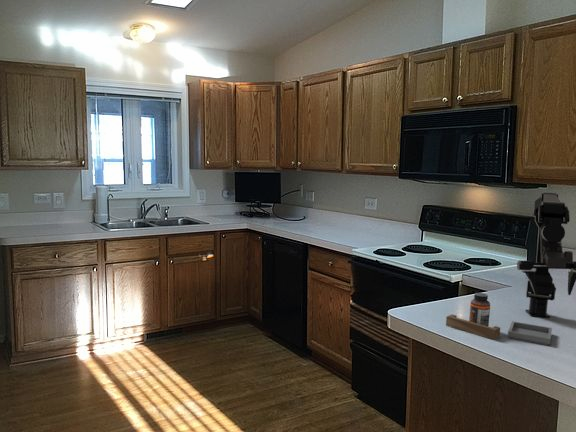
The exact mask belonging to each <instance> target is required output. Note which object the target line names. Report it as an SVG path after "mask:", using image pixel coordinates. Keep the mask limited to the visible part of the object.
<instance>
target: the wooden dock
mask: <svg viewBox="0 0 576 432" xmlns="http://www.w3.org/2000/svg"><path fill="white" fill-rule="evenodd" d="M445 317H446V318H445V319H446V320H445V326H446V327H449V328H453V329H456V330H457V329H458V330H460V331H464V332H467V333H470V334H474V335H477V336H481V337H484V338H487V339H490V340H497V339H499V338H500V335H501V334H500V333H501V327H500V326H496V325H495V326H493V327H492V326H485V325H481V324H478V323H474V322H470V321H469V320H467V319H463V318H459V317H457V314H452V313H451V314H449V315H447V316H445ZM498 337H499V338H498Z"/></svg>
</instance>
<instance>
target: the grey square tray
mask: <svg viewBox="0 0 576 432" xmlns="http://www.w3.org/2000/svg"><path fill="white" fill-rule="evenodd" d="M552 331H553V328H552V327H548V326H543V325H538V324H530V323H525V322H520V321H519V322H518V321H514V320H512V321H511V323H510V326H509V328H508V330H507V339H508V338H509V339H512V338H513V340H517V339H519V340H518V341H523V340H524V342H528V343H529V342H530V343H533V342H534V344H539V345H544V346H551V341H552Z"/></svg>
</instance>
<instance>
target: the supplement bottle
mask: <svg viewBox="0 0 576 432" xmlns="http://www.w3.org/2000/svg"><path fill="white" fill-rule="evenodd" d="M488 297H489V295H488V294H487V293H483V292H475V293H474V296H473V299H471V301H470V307H469V320H468V321H470V322H474V323H478V324H481V325H485V326H488V327H490V326H489V324H490V313H491V302H490V301H489V300H488Z"/></svg>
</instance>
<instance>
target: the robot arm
mask: <svg viewBox="0 0 576 432" xmlns="http://www.w3.org/2000/svg"><path fill="white" fill-rule="evenodd" d="M533 203H534V204H533V209H532V212H533V213H532V217H534V222H535V223H536V227H537V228H538V234H537V235H538V236H537V247H536V258H535V262H534V260H520V259H518V261H517V262H516V269H517V270H519V271H521V273H523V274H525V275H526V277H527V283H526V290H525V291H526V292H525V297H526V298H529V306H528V309H525V312H526V313H527V314H528V315H529V316H531V317H539V318H540V317H541V318H551V315H550V314H549V313H548V303H549V302H548V301H554V300H555V298H556V291H557V287H556V286H555V283H554V282H553V281H554V279H553V277H552V275H551V273H550V271H549V270H551V269H553V270H557V269H558V270H570V271H568V274H567V295H568V296H571V295H572V292H573V289H574V287H575V286H574V285H575V283H576V260H574V257H573V255H574V254H573V252H572V251H571V250H570V251H568V250H564V252H563V244H562V240H563V239H564V238H565V235H566V230H565V227H564V226H563V225H568V223H570V218H571V217H570V210H569V207H568V206H566V202H563V201H561V200H559V194H558V193H556V192H543V193H541V194H540V197H538V198H537V199H536V200H534V202H533Z"/></svg>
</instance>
